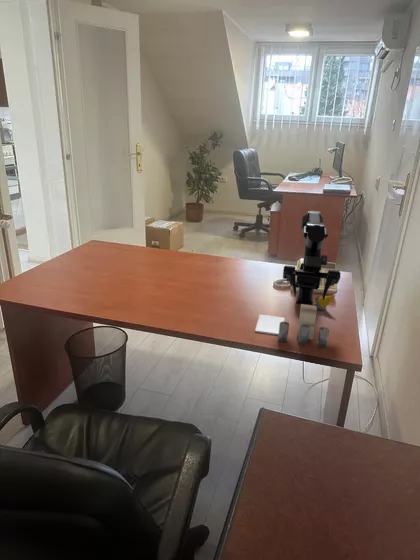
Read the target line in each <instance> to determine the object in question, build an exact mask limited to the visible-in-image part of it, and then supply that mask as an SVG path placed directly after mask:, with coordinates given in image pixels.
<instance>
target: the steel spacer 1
mask: <svg viewBox="0 0 420 560" xmlns="http://www.w3.org/2000/svg"><path fill="white" fill-rule="evenodd" d="M289 329H290V323H289V322H287V321H284V322H280V326H279V335H277V336H278V337H277V341H279V342H280V343H287V342H288V338H289V337H288V336H289Z"/></svg>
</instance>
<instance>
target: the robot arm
mask: <svg viewBox="0 0 420 560" xmlns="http://www.w3.org/2000/svg"><path fill="white" fill-rule="evenodd" d="M321 214H322V213H321V212H320V211H317V210H309V211H307V213H306V214H305V215H303V216H302V218H301V226H300V230H302V234H301V235H302V237H303V238H304V240H305V243H304V253H303V263H301V264H300V266H299V269H296V268H297V266H296V265H287V264H286V265H284V266H283V271H282V273H283V274H282V278H283V279H285V281H286V282H289V284H290V286H291V289H292V292H293V297H294V298H295V297H296V301H295V302H296V303H297V304H305V305H312V306H314V290H318V289H320V286H321V281H322V279H325V283H324V286H323V287H324V288H323V293H322V297H323V298H322V300H324V298H325V296H327V294H328V293H327V292H328V291H329V289H330V288H331V287H332V286H335V285H338V284H339V282H340V279H341V273H342V272H341V271H340V270H339V269H338V270H337V269H328V270H327V272H321V270H322V266H327V265H328V255H322V247H323V245H324V241H325V239H326V240H327V238H328V235H329V233H328V230H327V227H325V224H324V217H322V215H321ZM297 288H298V292H297Z"/></svg>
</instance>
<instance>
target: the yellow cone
mask: <svg viewBox="0 0 420 560" xmlns="http://www.w3.org/2000/svg"><path fill="white" fill-rule="evenodd" d="M335 297H336V295H335V294H334V295H325V298H324V300H322V298H323V296H320V295H319V296H316V297H315V299H314V301H315V302H314V303H315V304H314V306H316V311H318V310H322V311H324V310H326V309H327V306H328V305H329V304H330V303H331V302H332V300H333V299H334V298H335Z"/></svg>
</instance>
